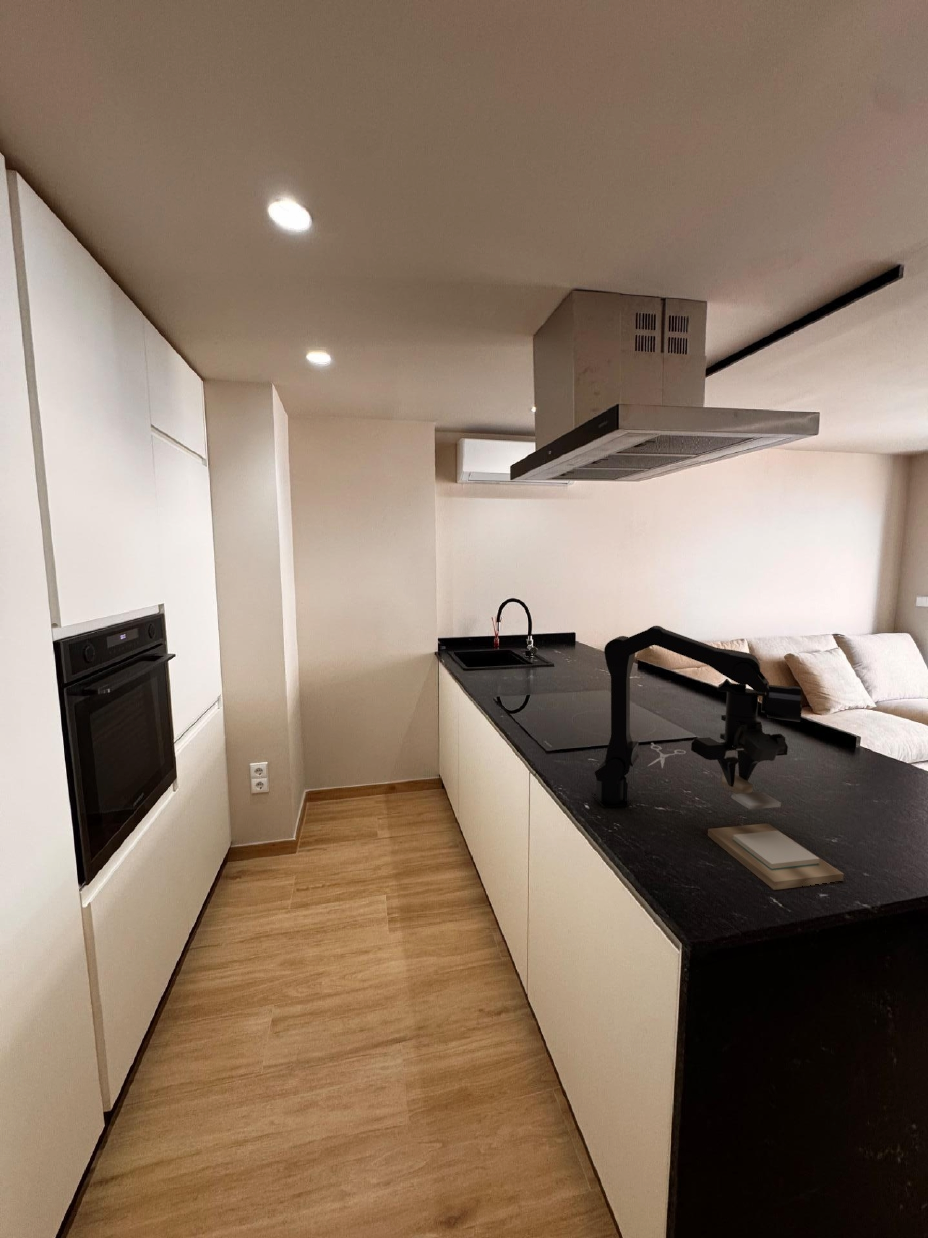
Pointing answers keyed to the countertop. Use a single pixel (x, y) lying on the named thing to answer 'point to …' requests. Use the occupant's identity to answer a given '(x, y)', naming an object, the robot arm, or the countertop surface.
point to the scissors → (662, 756)
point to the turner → (749, 794)
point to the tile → (775, 850)
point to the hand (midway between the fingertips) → (736, 785)
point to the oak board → (770, 877)
